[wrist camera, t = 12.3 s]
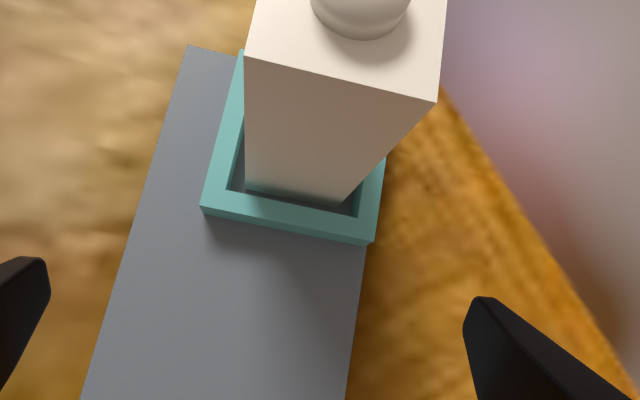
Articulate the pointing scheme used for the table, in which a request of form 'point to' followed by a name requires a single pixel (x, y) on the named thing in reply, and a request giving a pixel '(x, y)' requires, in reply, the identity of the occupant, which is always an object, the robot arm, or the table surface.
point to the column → (335, 90)
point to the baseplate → (229, 267)
